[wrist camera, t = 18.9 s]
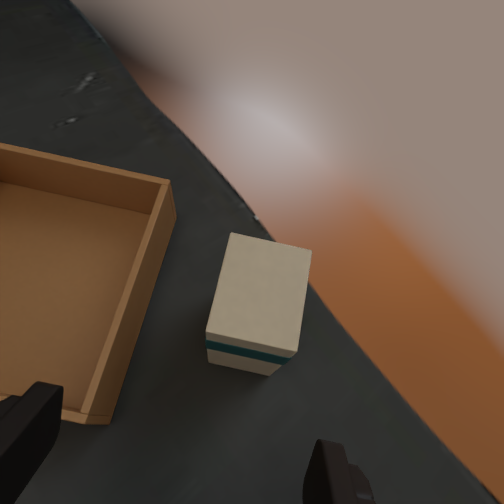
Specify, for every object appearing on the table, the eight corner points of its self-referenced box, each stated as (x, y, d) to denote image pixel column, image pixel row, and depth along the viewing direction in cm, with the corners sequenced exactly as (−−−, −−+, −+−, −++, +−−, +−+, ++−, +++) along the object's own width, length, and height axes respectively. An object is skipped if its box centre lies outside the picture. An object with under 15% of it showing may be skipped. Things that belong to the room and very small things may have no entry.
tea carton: (270, 377, 28) (298, 353, 18) (207, 363, 28) (203, 332, 18) (283, 302, 30) (313, 249, 21) (225, 289, 30) (230, 230, 21)
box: (109, 424, 25) (84, 424, 20) (-115, 375, 25) (-193, 363, 20) (176, 217, 32) (170, 179, 27) (0, 178, 32) (-39, 133, 27)
